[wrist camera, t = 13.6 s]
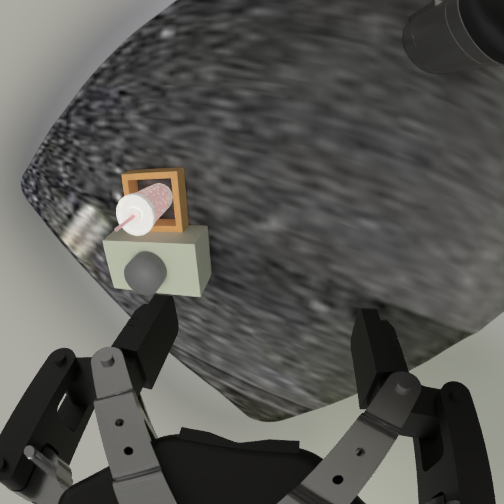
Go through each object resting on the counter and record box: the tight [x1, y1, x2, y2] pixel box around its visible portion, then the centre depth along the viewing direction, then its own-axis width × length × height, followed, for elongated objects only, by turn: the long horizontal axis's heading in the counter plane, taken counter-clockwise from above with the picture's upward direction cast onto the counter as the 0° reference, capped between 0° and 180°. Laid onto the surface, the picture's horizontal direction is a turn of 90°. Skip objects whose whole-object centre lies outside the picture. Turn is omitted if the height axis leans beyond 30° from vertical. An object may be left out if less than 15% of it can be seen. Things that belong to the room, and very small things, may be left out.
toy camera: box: [102, 167, 212, 297], centre depth 44 cm, size 19×16×10 cm
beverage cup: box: [114, 183, 173, 236], centre depth 40 cm, size 6×6×14 cm
